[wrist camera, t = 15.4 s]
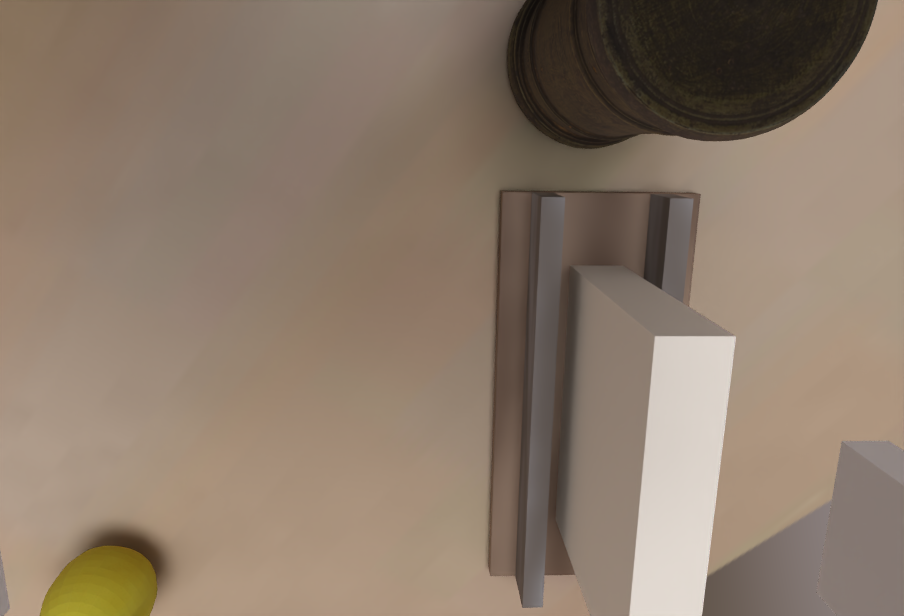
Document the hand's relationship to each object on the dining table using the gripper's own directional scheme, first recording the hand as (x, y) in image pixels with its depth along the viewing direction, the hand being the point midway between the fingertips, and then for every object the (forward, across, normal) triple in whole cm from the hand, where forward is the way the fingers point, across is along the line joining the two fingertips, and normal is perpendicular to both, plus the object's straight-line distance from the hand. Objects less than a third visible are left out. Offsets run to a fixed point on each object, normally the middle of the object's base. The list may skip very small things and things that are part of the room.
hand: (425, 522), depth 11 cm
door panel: (+28, +10, -9) cm, 31 cm away
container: (+29, +9, +10) cm, 32 cm away
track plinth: (+29, +10, -9) cm, 32 cm away
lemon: (+29, -18, -20) cm, 39 cm away
